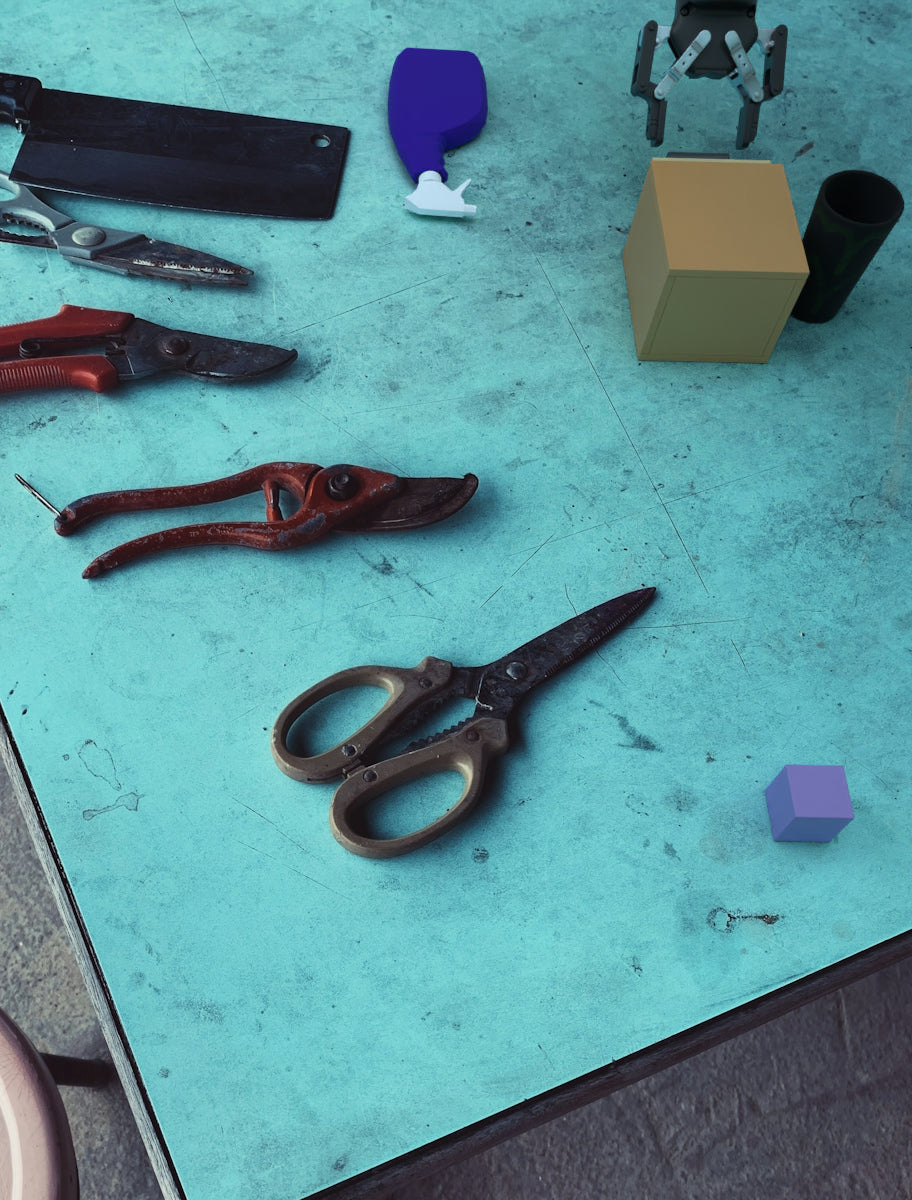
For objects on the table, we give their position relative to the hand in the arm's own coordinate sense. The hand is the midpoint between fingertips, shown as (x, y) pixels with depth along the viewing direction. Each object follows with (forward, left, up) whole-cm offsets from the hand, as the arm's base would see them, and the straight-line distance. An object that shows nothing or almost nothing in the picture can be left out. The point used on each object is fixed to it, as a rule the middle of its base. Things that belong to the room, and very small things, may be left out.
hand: (699, 147), depth 118 cm
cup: (-12, +13, -8) cm, 19 cm away
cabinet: (0, +14, -8) cm, 16 cm away
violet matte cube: (-1, +70, -8) cm, 70 cm away
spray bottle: (+25, -10, -8) cm, 28 cm away
